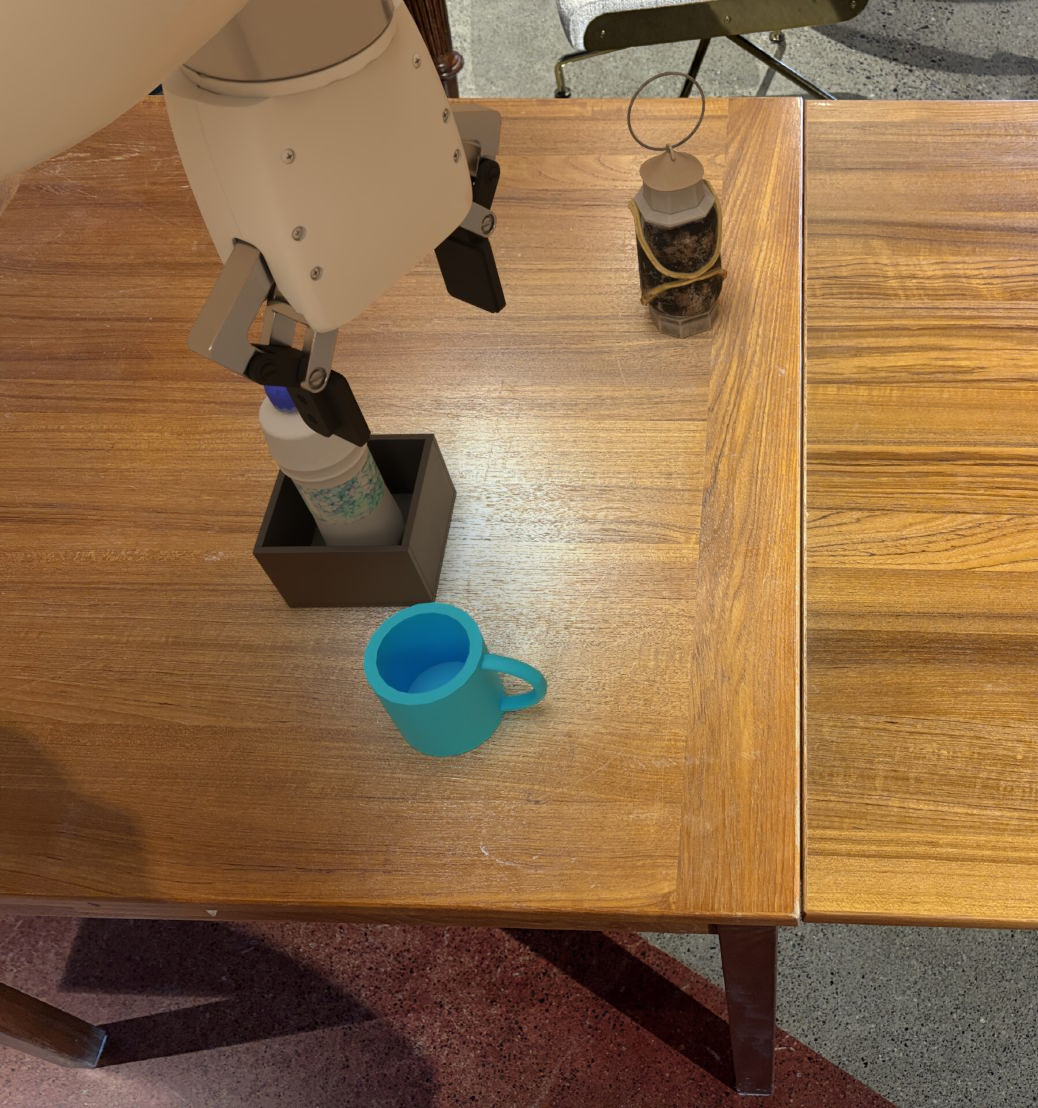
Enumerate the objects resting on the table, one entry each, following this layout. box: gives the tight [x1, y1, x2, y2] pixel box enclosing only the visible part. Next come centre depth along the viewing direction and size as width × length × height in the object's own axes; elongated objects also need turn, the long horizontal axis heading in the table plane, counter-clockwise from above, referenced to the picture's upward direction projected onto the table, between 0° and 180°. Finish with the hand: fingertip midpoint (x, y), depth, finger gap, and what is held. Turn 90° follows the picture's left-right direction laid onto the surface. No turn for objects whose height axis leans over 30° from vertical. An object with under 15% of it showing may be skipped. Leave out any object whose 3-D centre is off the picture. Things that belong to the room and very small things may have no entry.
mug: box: [362, 601, 548, 758], centre depth 77 cm, size 12×8×8 cm
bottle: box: [258, 386, 406, 546], centre depth 80 cm, size 7×7×20 cm
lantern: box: [626, 70, 728, 339], centre depth 94 cm, size 9×8×25 cm
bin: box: [252, 432, 457, 609], centre depth 86 cm, size 12×12×8 cm
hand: (413, 363), depth 50 cm, fingers open, 9 cm apart
